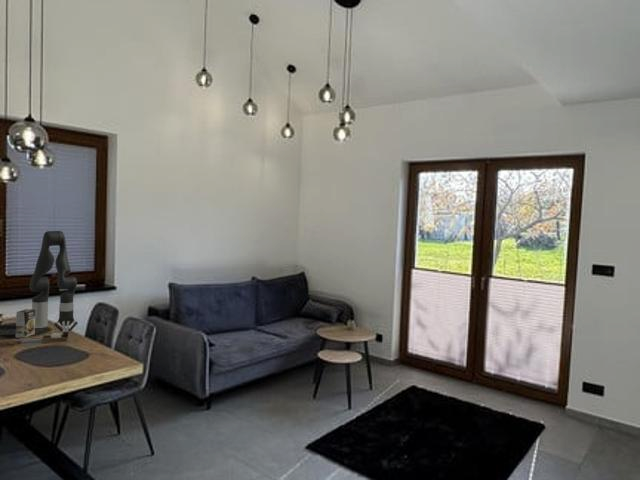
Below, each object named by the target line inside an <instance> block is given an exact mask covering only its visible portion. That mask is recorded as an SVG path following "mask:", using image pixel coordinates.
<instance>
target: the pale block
mask: <svg viewBox="0 0 640 480" xmlns="http://www.w3.org/2000/svg"><path fill="white" fill-rule="evenodd" d="M61 334H62V332H54V333H52V332H51V334H50V335H51V338H61Z"/></svg>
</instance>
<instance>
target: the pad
mask: <svg viewBox="0 0 640 480" xmlns="http://www.w3.org/2000/svg"><path fill="white" fill-rule="evenodd" d="M29 345H30V346H33V345H36V346H37V345H43V344H42V338H34V339H32V338H31V339H22V340H21V342H20V343H19V346H29Z"/></svg>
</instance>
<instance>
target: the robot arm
mask: <svg viewBox="0 0 640 480" xmlns="http://www.w3.org/2000/svg"><path fill="white" fill-rule="evenodd" d="M66 243H67V242H66V237H65V234H64V232H63V231H62V230H49V231H48V230H47V231H45V232H44V233H43V237H42V242H41V247H40V251H39V255H38V258H37V262H36V265H35V268H34V272H33V274H32V276H31V279H30V281H29V290H30V291H31V292H35V293H37V292H40V293H39V294H37V295H35V296H32V299H31V309H33V310H35V329H43V328H47V327H48V320H49V319H48V318H49V295H50V294H49V293H50V278H48V277H44V275H46V274H47V273H49V271H51V270H52V269H53V267H54V264H55V268H56V271H57V282H56V284H57V287H58V288H59V289H60V290H66V289H67V291H64V292H62V293H60V295H59V296H60V297H59V306H58V307H59V310H58V311H59V313H58V314H59V315H58V320H57V321H56V322H54V324H53V325H54V327H56V328H57V330H59V331H60V332H62V334H63V337H68V338H69V332H71V331H72V330H73V329H75V327H77V325H78V321H76V320H75V319H74V309H75V307H74V306H75V305H74V296H75V292H76V288H77V285H78V280H77V278H76V277H75V276H67V275H70V273H71V271H72V270H71V267H70V263H69V259H68V253H67V252H68V251H67V244H66ZM53 246H55V247H56V246H59V252H58V254H57V257H56V259H55V257H54V254H53V253H52V251H51V250H50V247H53Z"/></svg>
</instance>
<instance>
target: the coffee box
mask: <svg viewBox="0 0 640 480" xmlns="http://www.w3.org/2000/svg"><path fill="white" fill-rule="evenodd" d="M15 314H16V315H15V319H16V320H15V338H18V339H19V338H28V337H30V336H32V335H35V333H36V332H35V331H36V328H35V310H33V309H32V308H31V309H26V308H24V309H22V310H18V311H16V313H15Z"/></svg>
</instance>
